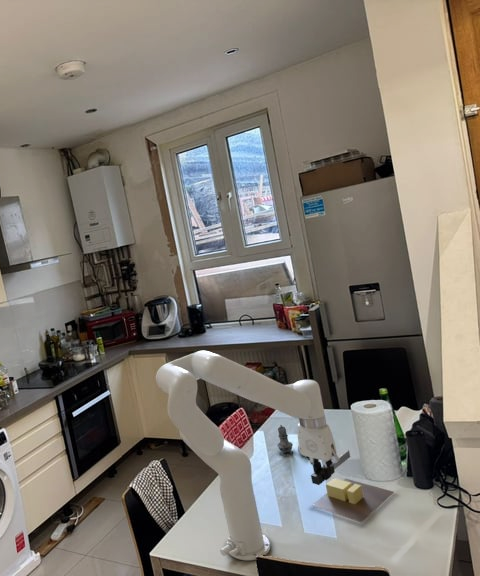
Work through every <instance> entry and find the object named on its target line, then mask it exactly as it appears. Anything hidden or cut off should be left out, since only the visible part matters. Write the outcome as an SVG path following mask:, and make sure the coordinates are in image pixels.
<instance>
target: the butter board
mask: <svg viewBox="0 0 480 576" xmlns="http://www.w3.org/2000/svg"><path fill="white" fill-rule="evenodd" d="M343 480H344V481H347V482H351V483H352V486H353V485H354V484H358V485H361V487H362V492H363V498H362V499H361V500H360V501H358V502H357V503H356V504H352V503H349V499H347V500H346V501H343V500H340V499H337V498H333V497H330V496H328V494H327V493H325V494H324V495H323V496H322V497H321V498H320V499H318V500H317V501H316V502H315V503H313V504H312V505H311V506H312V507H314V508H317V509H321V510H323V511H326V512H329V513H332V514H334V515H338V516H341V517H344V518H347V519H349V520H352V521H355V522H358V523H363V522H364V521H365V520H366V518H368V517H369V516H370V515H371V514H372V513H373V512H374V511H376V509H377V508H379V507H380V506H381V505H382V504H383V503H384V502H386V500H387V499H388V498H389V497H390V496H391V495H392V494H393V493H394V491H392V490H388V489H386V488H382V487H378V486H375V485H371V484H368V483H363V482H360V481H356V480H353V479H348V478H344V479H343Z"/></svg>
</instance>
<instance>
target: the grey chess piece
mask: <svg viewBox="0 0 480 576" xmlns="http://www.w3.org/2000/svg"><path fill="white" fill-rule="evenodd" d="M277 431H278V438H279V442H278V443H277V444H276V445H277V449H279V451H280V452H279V455H280V456H282V457H291V456H293V455H294V451H293V445H294V444H293V442H291V441H289V438H288V436H289V435H288V434H287V429H286V427H285V426H283V425H282V424H280V425H279V427H278V428H277Z"/></svg>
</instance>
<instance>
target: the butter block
mask: <svg viewBox="0 0 480 576" xmlns="http://www.w3.org/2000/svg"><path fill="white" fill-rule="evenodd" d="M351 487H352V483H351V482H347V481H344V479H341V478H336V477H333V478H332V479H330V481H328V482H327V483H325V488H326V494H328V496H330V497H333V498H337V499H340V500H343V501H346V500H347V499H348V494H347V490H348V489H349V488H351Z"/></svg>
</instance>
